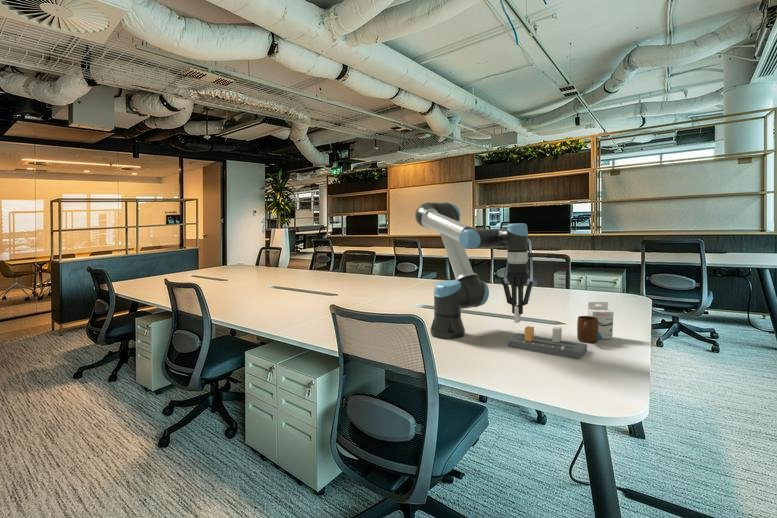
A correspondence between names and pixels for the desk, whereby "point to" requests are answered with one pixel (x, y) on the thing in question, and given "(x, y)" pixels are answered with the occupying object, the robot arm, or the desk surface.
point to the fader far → (557, 334)
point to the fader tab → (529, 333)
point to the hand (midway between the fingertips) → (517, 321)
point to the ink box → (602, 319)
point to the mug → (587, 329)
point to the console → (549, 346)
